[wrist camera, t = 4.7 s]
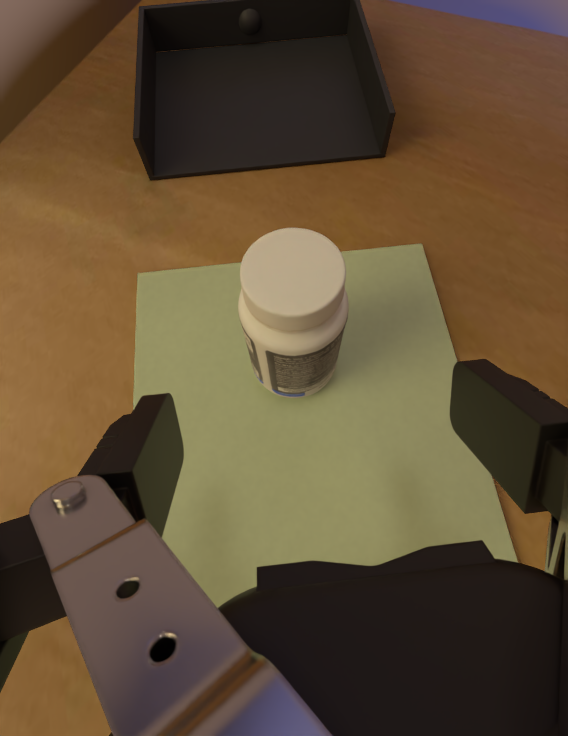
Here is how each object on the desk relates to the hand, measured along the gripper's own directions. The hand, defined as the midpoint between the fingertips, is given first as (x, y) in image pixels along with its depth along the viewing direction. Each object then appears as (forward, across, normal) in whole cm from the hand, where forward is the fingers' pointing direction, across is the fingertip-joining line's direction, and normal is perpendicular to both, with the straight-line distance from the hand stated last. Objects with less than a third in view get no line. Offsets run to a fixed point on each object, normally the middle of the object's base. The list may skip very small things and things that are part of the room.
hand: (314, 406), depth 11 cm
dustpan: (+29, 0, -15) cm, 33 cm away
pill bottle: (+11, 0, +3) cm, 11 cm away
